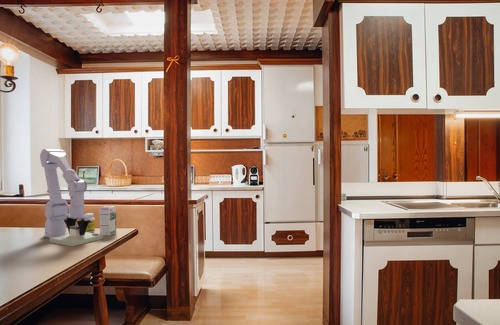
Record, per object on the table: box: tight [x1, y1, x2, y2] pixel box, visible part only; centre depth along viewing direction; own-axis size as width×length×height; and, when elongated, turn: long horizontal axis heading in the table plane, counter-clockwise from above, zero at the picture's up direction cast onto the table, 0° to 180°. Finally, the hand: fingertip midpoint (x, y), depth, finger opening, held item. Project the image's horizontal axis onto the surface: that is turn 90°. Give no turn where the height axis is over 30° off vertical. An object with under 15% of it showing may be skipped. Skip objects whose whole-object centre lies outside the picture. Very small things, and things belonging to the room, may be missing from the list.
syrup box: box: [99, 205, 117, 236], centre depth 164 cm, size 6×6×14 cm
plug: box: [70, 224, 84, 238], centre depth 150 cm, size 4×4×7 cm
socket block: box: [49, 232, 104, 247], centre depth 150 cm, size 16×16×3 cm
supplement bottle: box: [84, 212, 96, 233], centre depth 168 cm, size 5×5×10 cm
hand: (76, 234), depth 150 cm, fingers open, 7 cm apart
